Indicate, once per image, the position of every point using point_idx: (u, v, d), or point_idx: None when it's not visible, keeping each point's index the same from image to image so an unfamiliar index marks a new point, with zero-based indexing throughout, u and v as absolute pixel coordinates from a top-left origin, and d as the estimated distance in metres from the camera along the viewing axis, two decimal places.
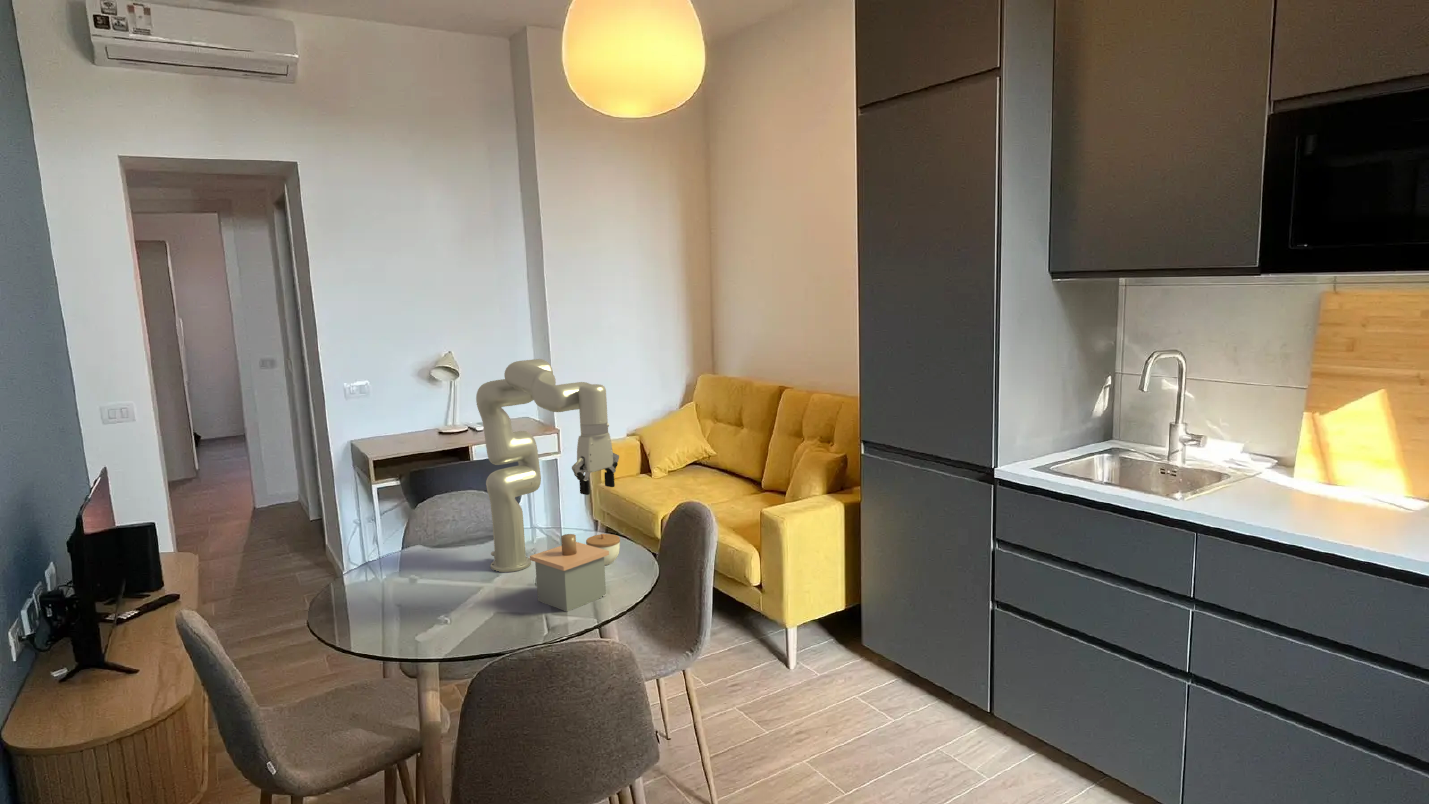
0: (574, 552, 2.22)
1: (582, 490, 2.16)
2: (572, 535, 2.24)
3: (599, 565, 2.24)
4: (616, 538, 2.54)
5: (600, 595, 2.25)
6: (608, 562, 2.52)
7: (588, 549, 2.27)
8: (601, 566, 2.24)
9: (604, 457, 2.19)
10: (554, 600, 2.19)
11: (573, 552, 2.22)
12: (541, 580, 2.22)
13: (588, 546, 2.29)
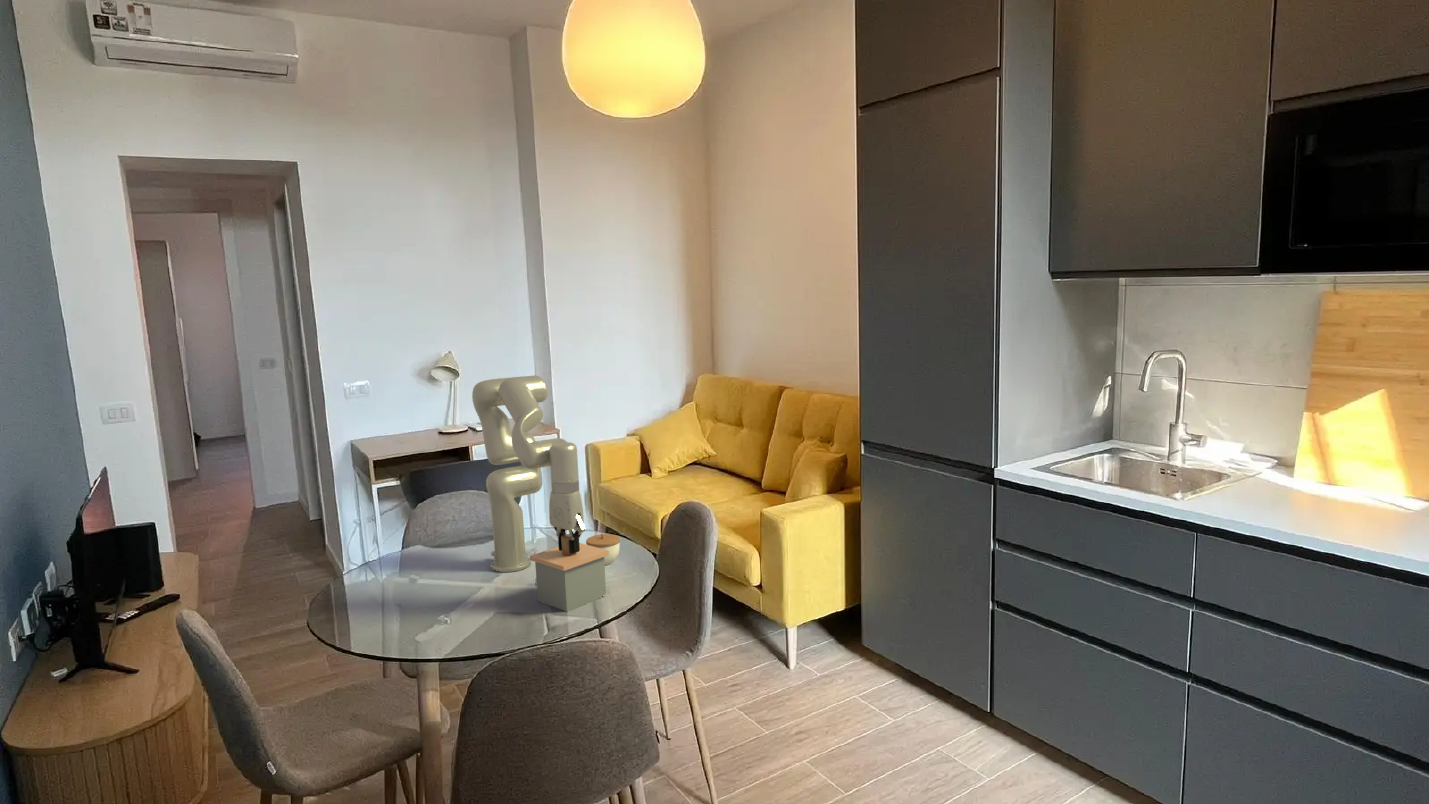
0: None
1: (577, 548, 2.21)
2: None
3: (599, 565, 2.24)
4: (616, 538, 2.54)
5: (600, 595, 2.25)
6: (608, 562, 2.52)
7: (588, 549, 2.27)
8: (601, 566, 2.24)
9: None
10: (554, 600, 2.19)
11: None
12: (541, 580, 2.22)
13: (588, 546, 2.29)
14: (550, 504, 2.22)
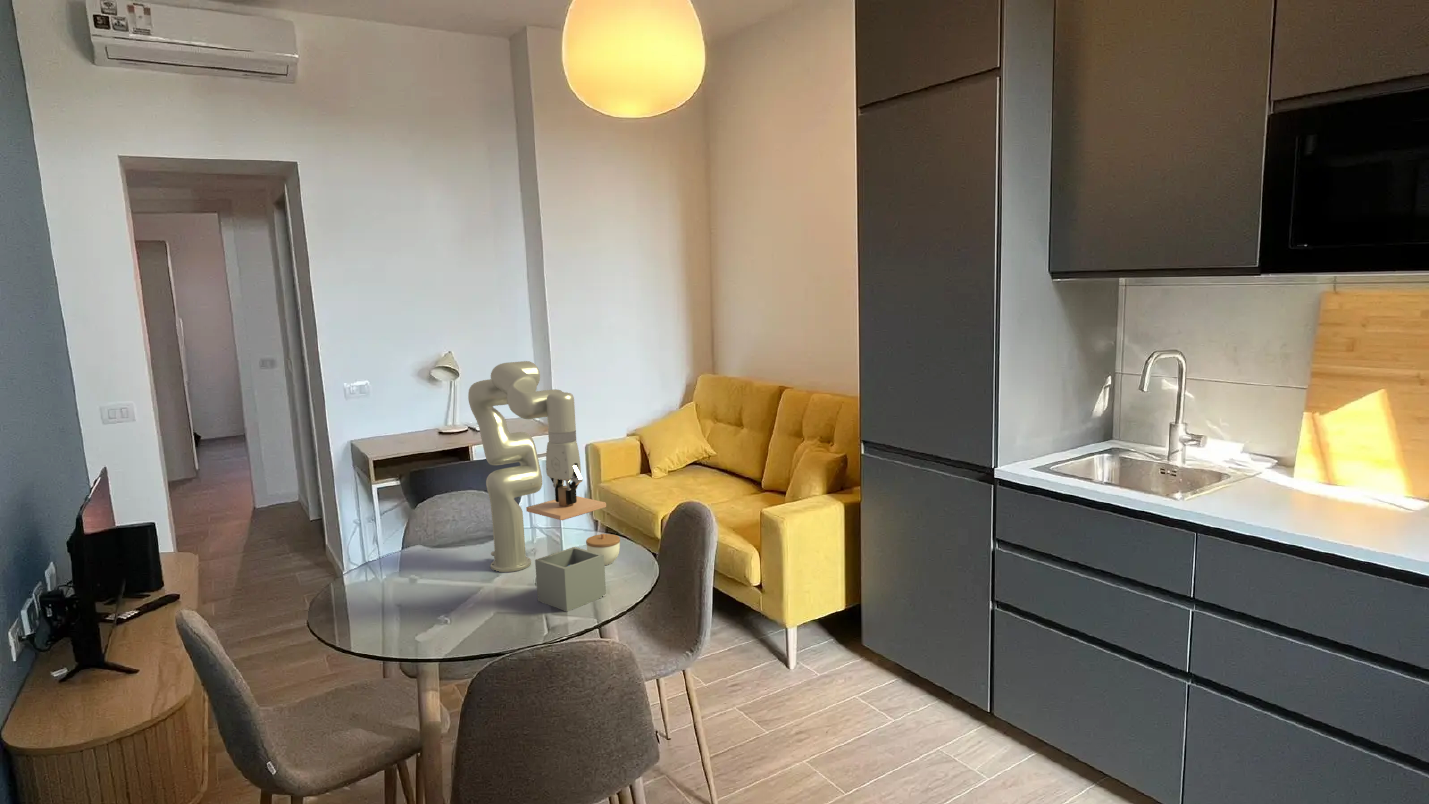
0: None
1: (573, 499, 2.19)
2: None
3: (599, 565, 2.24)
4: (616, 538, 2.54)
5: (600, 595, 2.25)
6: (608, 562, 2.52)
7: (585, 501, 2.25)
8: (601, 566, 2.24)
9: None
10: (554, 600, 2.19)
11: None
12: (541, 580, 2.22)
13: (585, 499, 2.27)
14: (547, 455, 2.20)
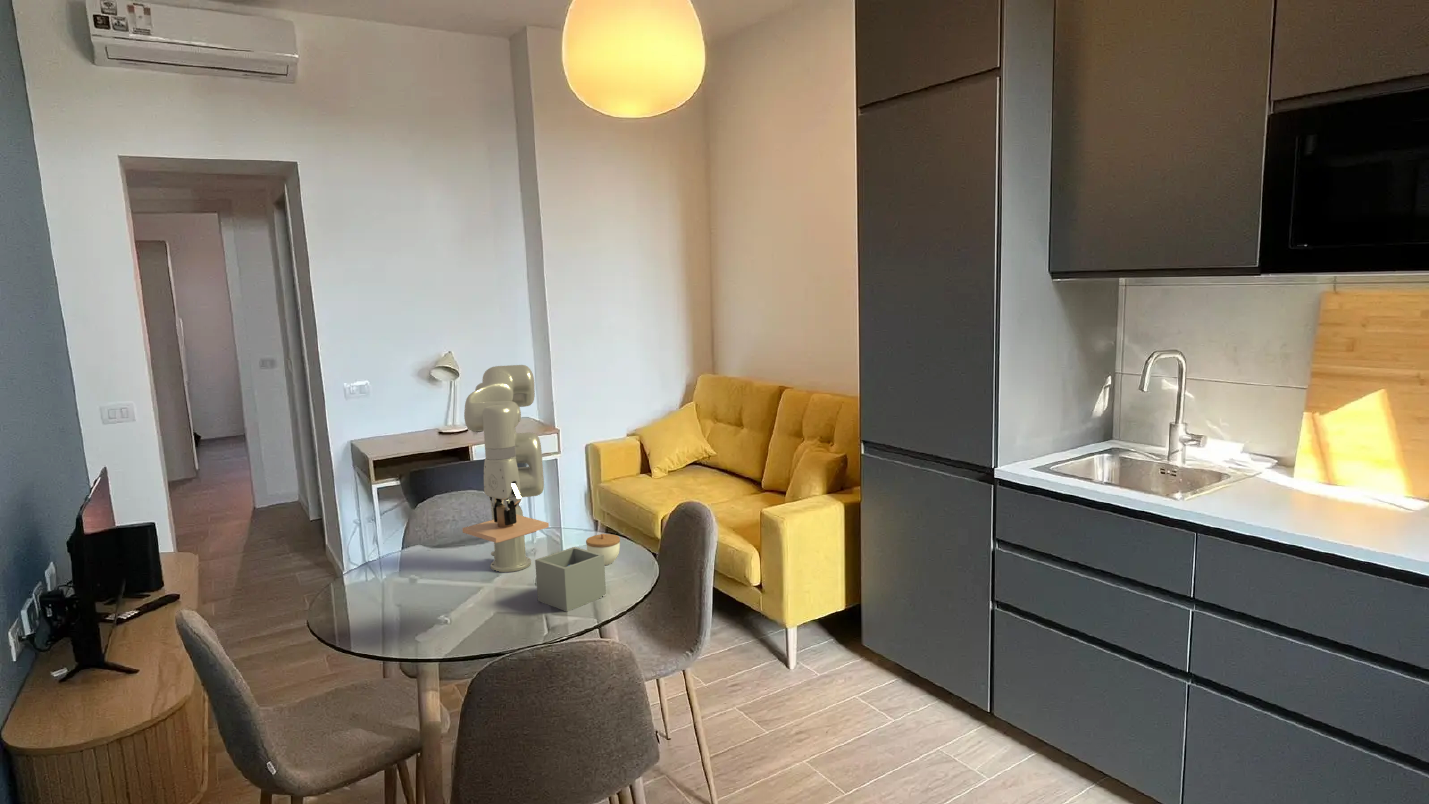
0: None
1: (513, 519, 2.04)
2: None
3: (599, 565, 2.24)
4: (616, 538, 2.54)
5: (600, 595, 2.25)
6: (608, 562, 2.52)
7: (527, 521, 2.10)
8: (601, 566, 2.24)
9: None
10: (554, 600, 2.19)
11: None
12: (541, 580, 2.22)
13: (527, 518, 2.12)
14: (484, 472, 2.05)
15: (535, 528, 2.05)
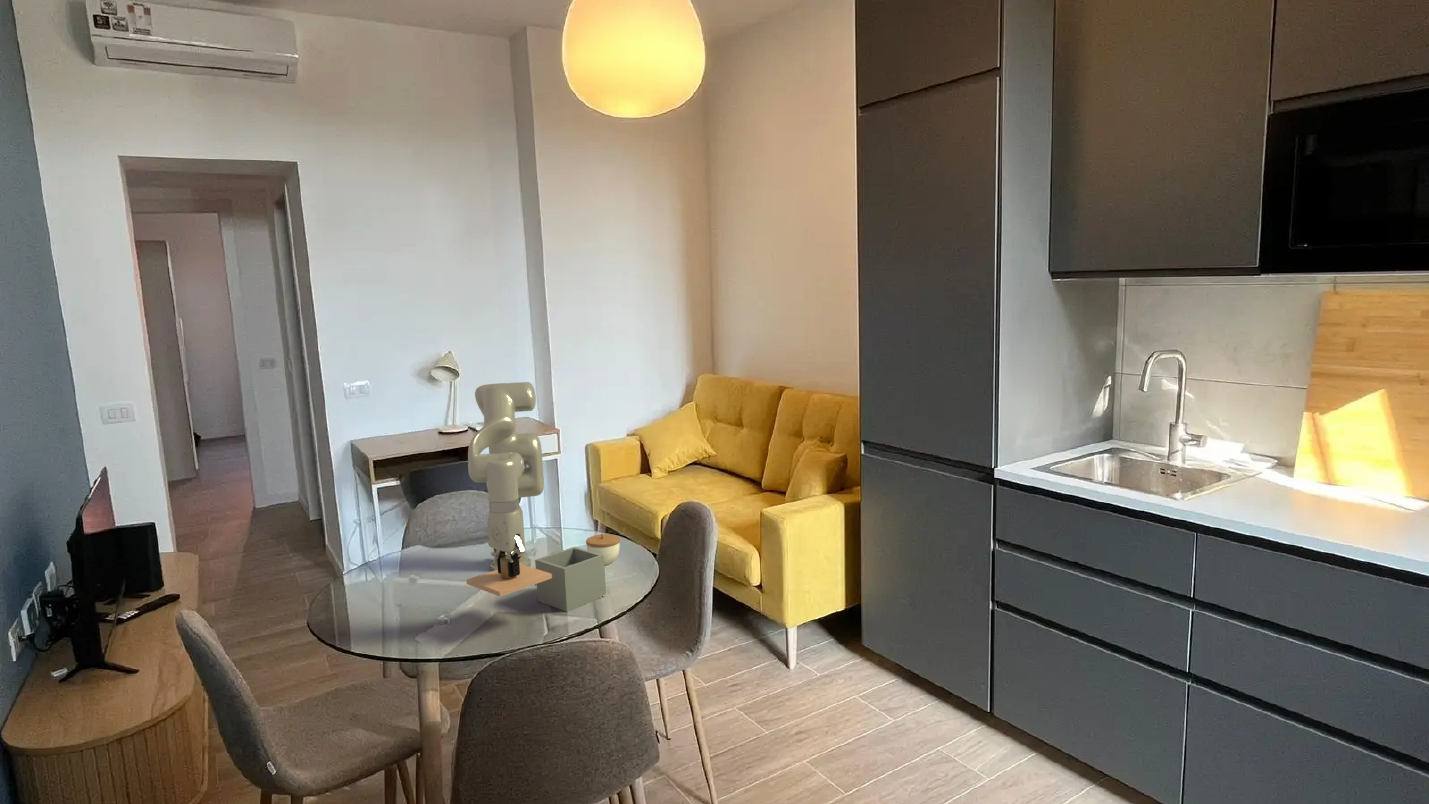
0: None
1: (516, 571, 2.06)
2: None
3: (599, 565, 2.24)
4: (616, 538, 2.54)
5: (600, 595, 2.25)
6: (608, 562, 2.52)
7: (530, 571, 2.12)
8: (601, 566, 2.24)
9: None
10: (554, 600, 2.19)
11: None
12: None
13: (531, 568, 2.14)
14: (488, 524, 2.07)
15: (538, 580, 2.06)
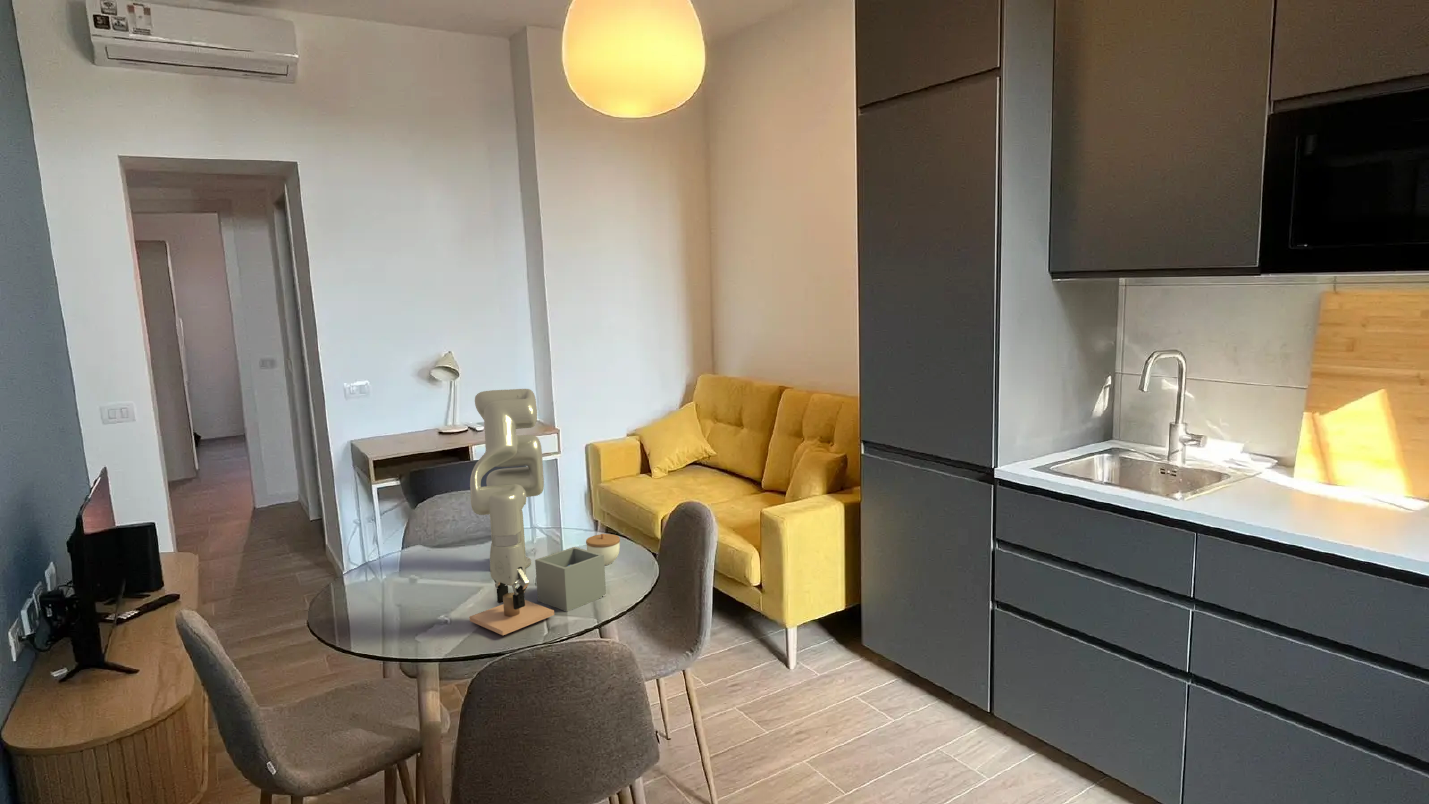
0: (517, 612, 2.09)
1: (521, 603, 2.07)
2: None
3: (599, 565, 2.24)
4: (616, 538, 2.54)
5: (600, 595, 2.25)
6: (608, 562, 2.52)
7: (533, 608, 2.13)
8: (601, 566, 2.24)
9: None
10: (554, 600, 2.19)
11: (515, 613, 2.09)
12: (541, 580, 2.22)
13: (533, 604, 2.16)
14: (491, 556, 2.08)
15: (541, 617, 2.08)
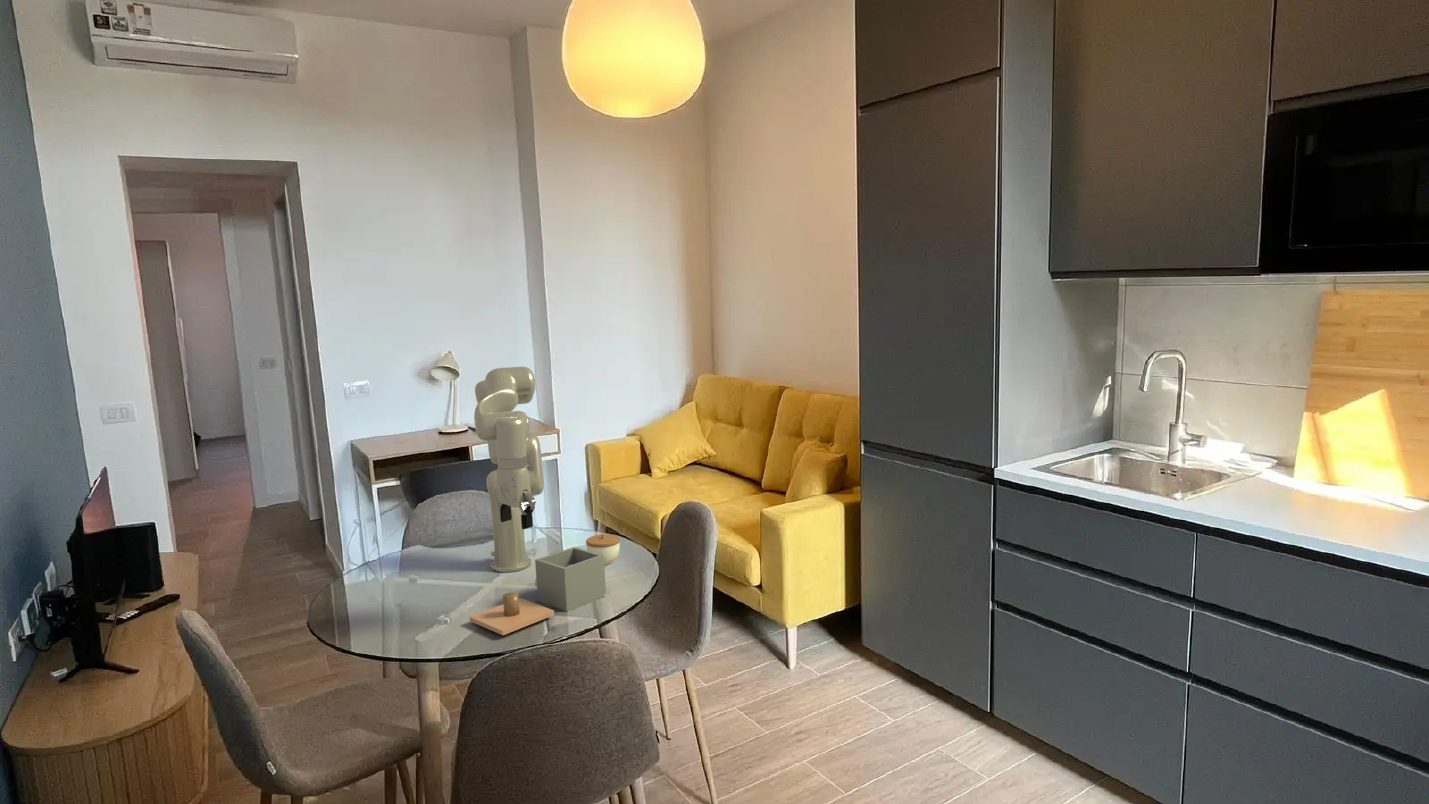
0: (517, 612, 2.09)
1: (529, 524, 2.11)
2: (515, 594, 2.10)
3: (599, 565, 2.24)
4: (616, 538, 2.54)
5: (600, 595, 2.25)
6: (608, 562, 2.52)
7: (533, 608, 2.13)
8: (601, 566, 2.24)
9: None
10: (554, 600, 2.19)
11: (515, 613, 2.09)
12: (541, 580, 2.22)
13: (533, 604, 2.16)
14: (497, 480, 2.14)
15: (541, 617, 2.08)
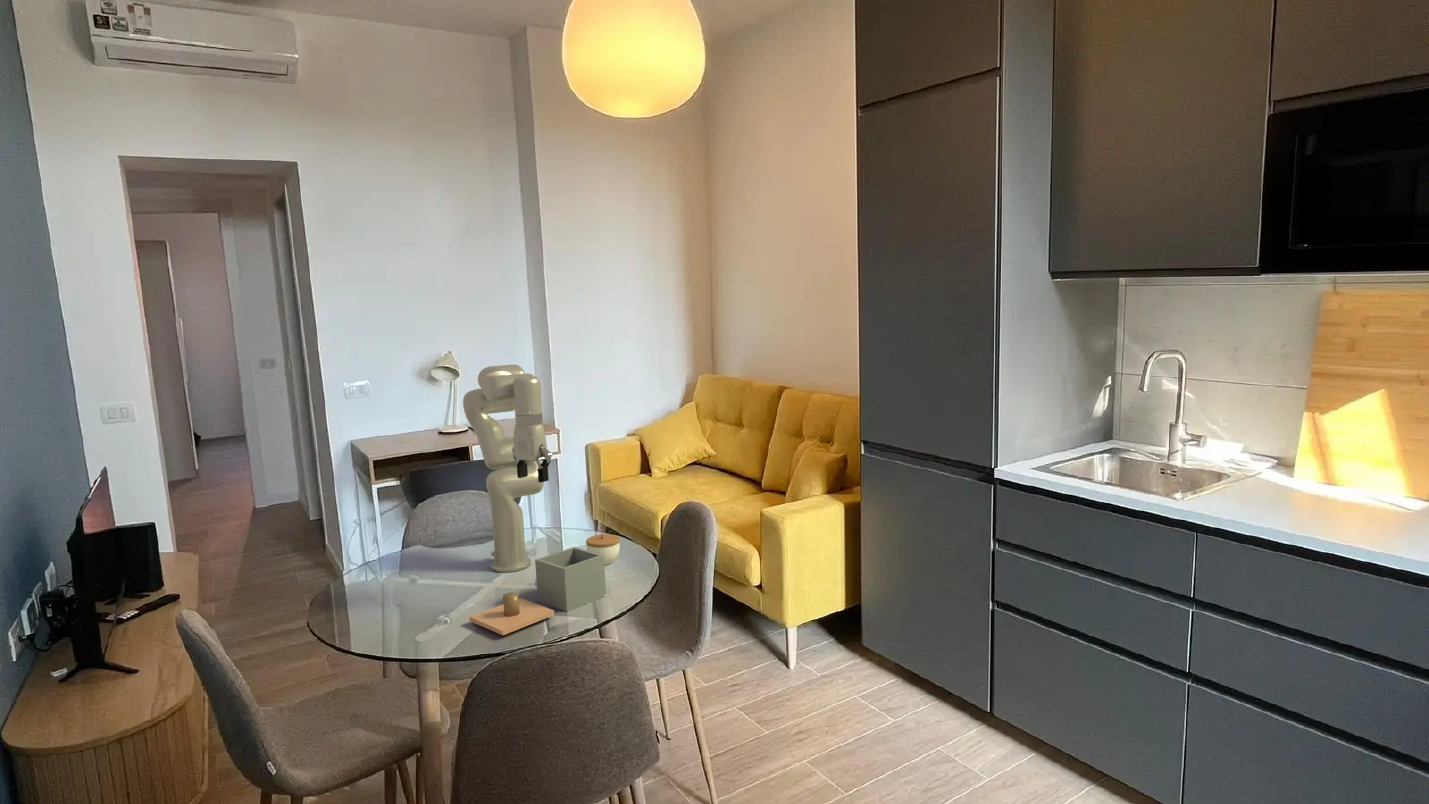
0: (517, 612, 2.09)
1: (545, 477, 2.23)
2: (515, 594, 2.10)
3: (599, 565, 2.24)
4: (616, 538, 2.54)
5: (600, 595, 2.25)
6: (608, 562, 2.52)
7: (533, 608, 2.13)
8: (601, 566, 2.24)
9: None
10: (554, 600, 2.19)
11: (515, 613, 2.09)
12: (541, 580, 2.22)
13: (533, 604, 2.16)
14: (514, 437, 2.26)
15: (541, 617, 2.08)
